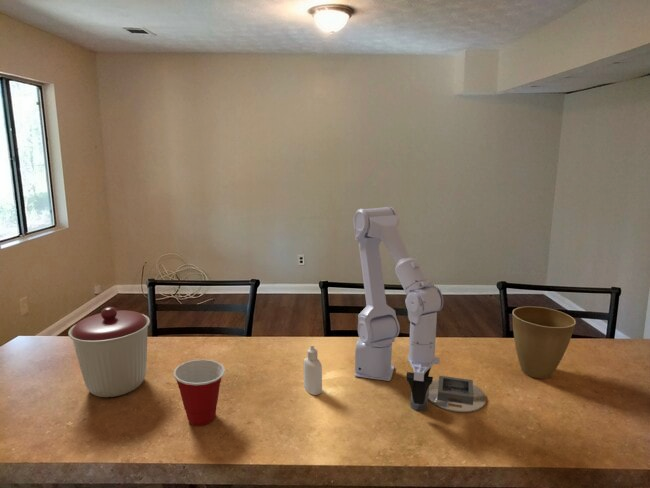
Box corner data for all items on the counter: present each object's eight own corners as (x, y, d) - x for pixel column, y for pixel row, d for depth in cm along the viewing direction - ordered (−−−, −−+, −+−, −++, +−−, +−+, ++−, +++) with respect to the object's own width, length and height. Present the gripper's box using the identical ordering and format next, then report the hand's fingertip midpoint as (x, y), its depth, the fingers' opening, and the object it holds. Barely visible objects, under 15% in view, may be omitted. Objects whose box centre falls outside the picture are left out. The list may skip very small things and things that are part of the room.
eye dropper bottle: (320, 383, 115) (320, 340, 112) (322, 395, 109) (322, 350, 107) (303, 384, 114) (303, 340, 112) (304, 396, 109) (303, 350, 106)
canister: (168, 385, 114) (161, 306, 109) (93, 416, 101) (82, 328, 97) (136, 362, 126) (129, 290, 122) (65, 387, 113) (54, 308, 109)
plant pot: (554, 393, 110) (561, 332, 107) (496, 370, 121) (501, 314, 117) (577, 373, 120) (585, 316, 116) (522, 354, 131) (528, 301, 127)
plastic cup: (225, 431, 96) (222, 380, 93) (173, 435, 94) (168, 383, 92) (229, 402, 106) (226, 356, 104) (182, 406, 105) (178, 359, 102)
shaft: (409, 409, 103) (410, 385, 102) (411, 400, 107) (412, 376, 106) (427, 412, 102) (428, 387, 101) (428, 403, 106) (429, 379, 105)
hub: (423, 406, 104) (424, 396, 104) (427, 377, 118) (427, 368, 117) (487, 416, 101) (488, 406, 100) (484, 385, 114) (484, 375, 113)
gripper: (439, 355, 93) (436, 414, 96) (441, 328, 107) (439, 381, 110) (405, 351, 95) (403, 409, 98) (411, 325, 109) (409, 377, 112)
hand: (419, 394), depth 104 cm, fingers open, 7 cm apart
